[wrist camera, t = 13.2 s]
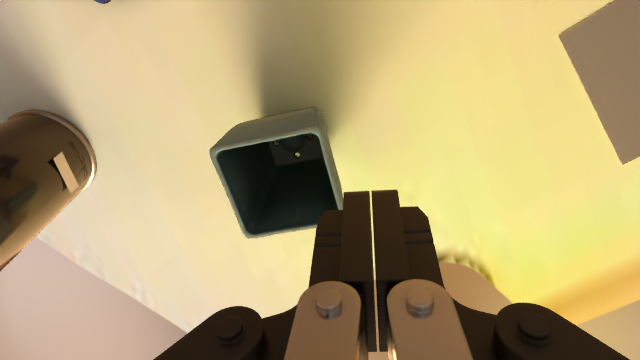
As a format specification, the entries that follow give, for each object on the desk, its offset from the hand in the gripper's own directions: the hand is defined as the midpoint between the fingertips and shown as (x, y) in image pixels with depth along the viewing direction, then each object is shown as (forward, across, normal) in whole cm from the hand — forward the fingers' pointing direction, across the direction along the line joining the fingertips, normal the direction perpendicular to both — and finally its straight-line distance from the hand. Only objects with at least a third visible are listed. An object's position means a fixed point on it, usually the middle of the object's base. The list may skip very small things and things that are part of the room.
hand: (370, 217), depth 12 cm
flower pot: (+27, +7, +10) cm, 30 cm away
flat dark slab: (+27, -30, +2) cm, 41 cm away
